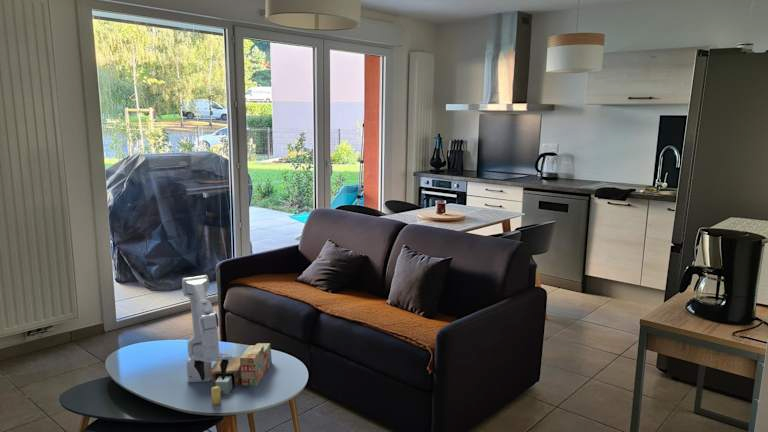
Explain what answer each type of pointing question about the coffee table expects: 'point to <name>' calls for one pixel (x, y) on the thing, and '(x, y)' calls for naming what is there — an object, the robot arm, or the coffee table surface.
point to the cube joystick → (221, 389)
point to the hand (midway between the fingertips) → (213, 378)
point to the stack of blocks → (255, 363)
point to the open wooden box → (227, 370)
